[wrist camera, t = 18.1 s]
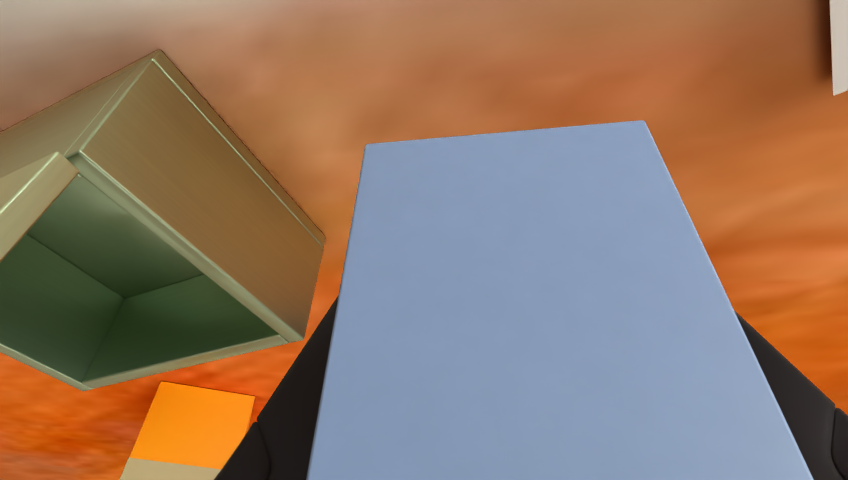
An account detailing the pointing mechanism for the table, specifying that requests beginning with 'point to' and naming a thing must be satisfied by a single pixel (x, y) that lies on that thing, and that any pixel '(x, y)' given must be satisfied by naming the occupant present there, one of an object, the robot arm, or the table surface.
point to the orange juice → (188, 433)
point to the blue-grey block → (537, 322)
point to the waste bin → (151, 238)
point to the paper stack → (839, 45)
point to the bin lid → (30, 196)
